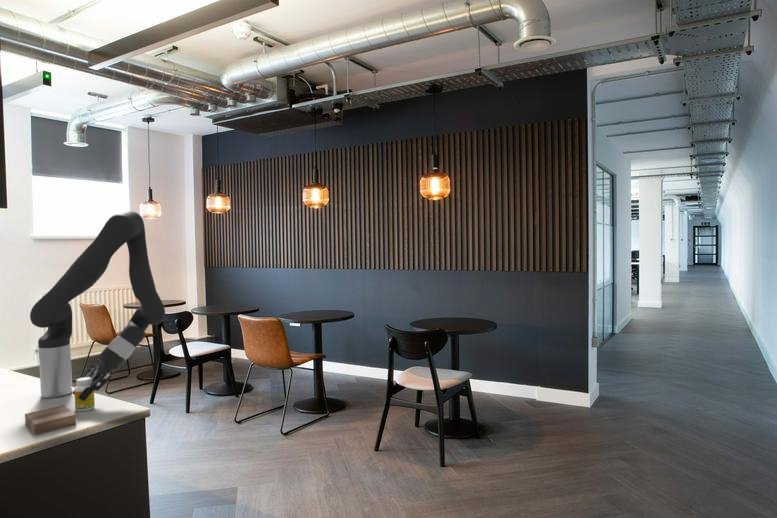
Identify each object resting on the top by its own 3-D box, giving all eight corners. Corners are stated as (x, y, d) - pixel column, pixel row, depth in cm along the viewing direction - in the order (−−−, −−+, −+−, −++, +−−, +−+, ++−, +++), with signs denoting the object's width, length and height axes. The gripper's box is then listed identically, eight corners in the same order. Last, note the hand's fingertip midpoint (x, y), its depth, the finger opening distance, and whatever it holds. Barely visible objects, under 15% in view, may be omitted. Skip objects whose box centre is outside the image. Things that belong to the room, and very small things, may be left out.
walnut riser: (25, 423, 150) (24, 413, 150) (64, 414, 157) (63, 405, 157) (35, 435, 142) (35, 424, 141) (76, 424, 149) (75, 414, 149)
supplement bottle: (85, 412, 159) (84, 381, 158) (71, 411, 160) (69, 380, 159) (98, 406, 164) (97, 376, 164) (84, 405, 165) (83, 376, 165)
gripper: (100, 343, 171) (61, 386, 163) (115, 350, 161) (74, 396, 153) (117, 355, 175) (80, 398, 167) (133, 363, 166) (94, 408, 158)
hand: (78, 397), depth 160 cm, fingers closed on supplement bottle, 5 cm apart
